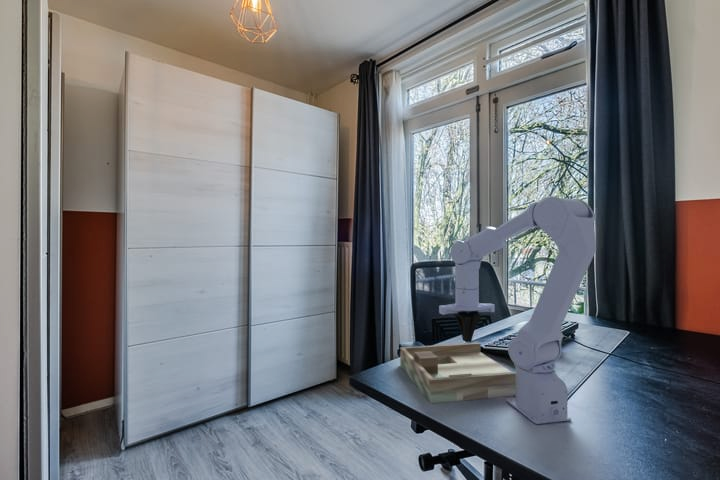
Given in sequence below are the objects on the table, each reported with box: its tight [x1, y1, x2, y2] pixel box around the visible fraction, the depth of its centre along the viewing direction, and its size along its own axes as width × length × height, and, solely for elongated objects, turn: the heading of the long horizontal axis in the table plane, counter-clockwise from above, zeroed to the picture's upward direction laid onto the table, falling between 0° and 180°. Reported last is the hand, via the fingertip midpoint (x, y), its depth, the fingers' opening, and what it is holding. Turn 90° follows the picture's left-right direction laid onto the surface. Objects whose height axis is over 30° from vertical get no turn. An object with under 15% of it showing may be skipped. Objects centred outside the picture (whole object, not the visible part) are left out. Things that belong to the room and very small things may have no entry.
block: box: [414, 351, 438, 374], centre depth 83 cm, size 4×4×4 cm
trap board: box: [399, 342, 516, 404], centre depth 84 cm, size 22×24×5 cm
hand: (467, 340), depth 85 cm, fingers closed
